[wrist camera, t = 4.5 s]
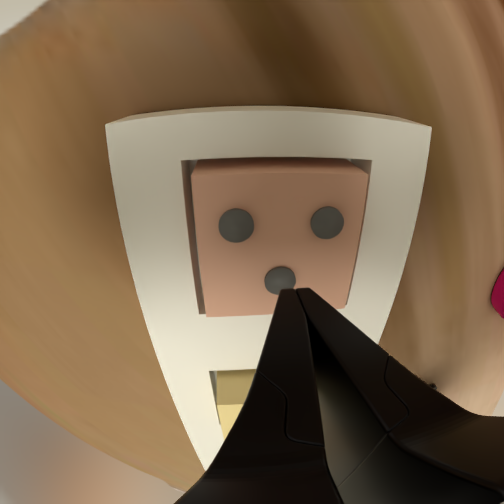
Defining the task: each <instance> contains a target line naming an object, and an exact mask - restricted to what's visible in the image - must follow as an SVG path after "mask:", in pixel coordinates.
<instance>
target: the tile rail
mask: <svg viewBox="0 0 504 504" xmlns="http://www.w3.org/2000/svg"><path fill="white" fill-rule="evenodd" d="M105 129H106V138H107V146H108V154H109V161H110V168H111V175H112V181H113V187H114V193H115V199H116V204H117V209H118V214H119V220H120V224H121V229H122V234H123V238H124V243H125V247H126V252H127V256H128V260H129V264H130V268H131V272H132V276H133V280H134V283H135V287H136V291H137V294H138V298H139V301H140V305H141V308H142V312H143V315H144V318H145V321H146V325H147V328H148V331H149V334H150V337H151V340H152V343H153V346H154V349H155V352H156V355H157V358H158V361H159V364H160V366H161V369H162V372H163V375H164V377H165V380H166V383H167V385H168V388H169V390H170V393H171V395H172V398H173V400H174V403H175V405H176V408H177V410H178V413H179V415H180V417H181V420H182V422H183V424H184V427H185V429H186V431H187V433H188V436H189V438H190V440H191V442H192V444H193V446H194V449H195V451H196V453H197V455H198V457H199V459H200V461H201V463H202V465H203V467H204V469H205V471H206V470H207V469H208V467H209V466H210V464H211V463H212V461H213V460H214V458H215V456H216V455H217V453H218V451H219V449H220V448H221V446H222V444H223V442H224V437H223V433H222V428H221V423H220V419H219V414H218V409H217V371H220V370H245V369H256V368H257V365H258V362H259V359H260V355H261V352H262V349H263V346H264V342H265V339H266V336H267V333H268V329H269V326H270V323H271V319H272V316H273V314H267V315H249V316H227V317H206V311H205V304H204V296H203V288H202V280H201V272H200V263H199V255H198V246H197V236H196V226H195V216H194V205H193V194H192V182H191V175H192V173H193V170H194V168H195V165H196V163H197V161H198V160H201V159H220V158H249V157H312V158H341V159H347V160H348V161H350V162H351V163H353V164H354V165H356V166H357V167H358V168H360V169H361V170H363V171H364V172H365V173H367V174H368V183H367V190H366V198H365V204H364V211H363V218H362V224H361V230H360V236H359V241H358V247H357V252H356V257H355V263H354V268H353V273H352V277H351V282H350V287H349V291H348V296H347V300H346V304H345V308H343V309H336V310H337V311H338V312H340V313H341V314H342V315H343V316H344V317H346V318H347V319H348V320H349V321H350V322H352V323H353V324H354V325H355V326H356V327H358V328H359V329H360V330H361V331H362V332H363V333H365V334H366V335H367V336H368V337H369V338H371V339H372V340H373V341H374V342H375V343H377V344H378V343H379V340H380V337H381V335H382V332H383V329H384V327H385V324H386V321H387V319H388V316H389V313H390V310H391V307H392V304H393V301H394V298H395V295H396V292H397V289H398V286H399V283H400V279H401V276H402V273H403V269H404V266H405V262H406V259H407V255H408V251H409V248H410V244H411V240H412V236H413V232H414V228H415V223H416V219H417V214H418V210H419V205H420V200H421V195H422V190H423V185H424V179H425V173H426V167H427V161H428V154H429V147H430V139H431V130H432V127H430V126H427V125H424V124H421V123H417V122H414V121H411V120H407V119H403V118H400V117H396V116H390V115H383V114H376V113H369V112H360V111H351V110H341V109H330V108H316V107H296V106H225V107H205V108H191V109H179V110H169V111H160V112H152V113H144V114H137V115H131V116H128V117H124V118H122V119H119V120H116V121H113V122H110V123H107V124H105Z"/></svg>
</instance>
